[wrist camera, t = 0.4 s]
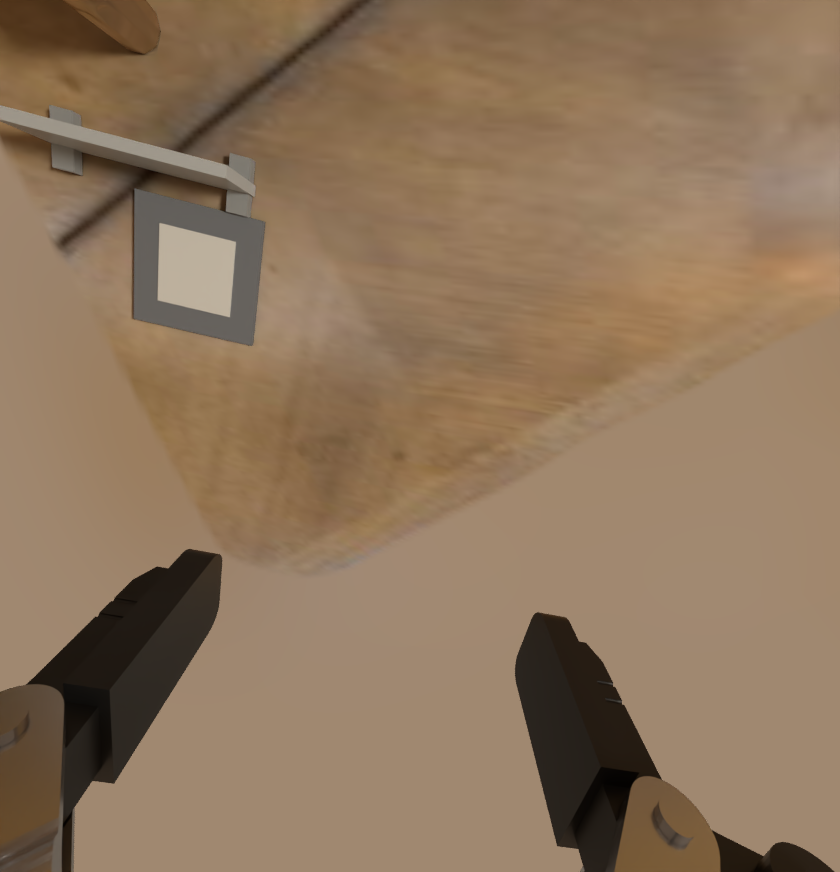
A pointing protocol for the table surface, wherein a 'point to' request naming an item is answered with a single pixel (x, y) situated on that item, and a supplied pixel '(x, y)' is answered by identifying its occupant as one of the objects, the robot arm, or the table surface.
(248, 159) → the divider wall
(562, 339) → the table surface
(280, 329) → the table surface
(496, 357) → the table surface
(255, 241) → the mat
